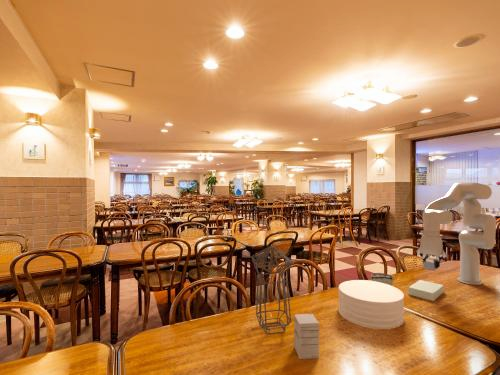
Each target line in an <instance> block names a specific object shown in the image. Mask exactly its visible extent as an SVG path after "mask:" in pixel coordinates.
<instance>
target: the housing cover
mask: <svg viewBox="0 0 500 375" xmlns="http://www.w3.org/2000/svg"><path fill="white" fill-rule="evenodd" d="M426 258H427V259H426V262H431V263H434V262H436V260H437V259H436V256H434V255H429V256H428V257H426Z"/></svg>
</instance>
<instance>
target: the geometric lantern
mask: <svg viewBox="0 0 500 375" xmlns="http://www.w3.org/2000/svg"><path fill="white" fill-rule="evenodd" d="M275 252H276V253H275ZM269 254H270V255H269ZM279 257H282V258H283V259H284V261H285V263H284V264H283V263H282V264H279V262H278V260H277V259H278V258H279ZM250 258H251V261H252V264H253V265H254V266H253V267H254V269H255V270H256V273H257V275H256V276H257V277H256V278H257V279H256V301H255V302H256V303H255V304H256V306H255V316H256V318H257V319H256V320H257V321H258V324H259V326H260V327H261V328H263V330H264V332H265V334H267V335H274V334H282V333H286V330H287V329H286V327H287V326H290V324H291V323H292V316H291V314H292V313H291V304H290V292H289V291H290V290H289V280H288V278H289V271H287V274H286V275H287V276H285V275H284V273H285V270H286V268H287V269H289V268H290V267H291V266H292V265H293V264H295V261H294V260H292V259H291V258H290V257H288V256H287V255H286V254H285V253H284V252H282V251H281V250H279V249H278V248H276V247H275V246H274V245H273V246H272V245H271V246H268V247H266V248H264V249H261V250H260V251H258V252H257V253H255V254H253V255H251V256H250ZM267 258H268V259H269V258H270V260H269V261H268V260H267ZM261 262H262V263H261ZM274 262H275V263H276V264H274ZM260 264H261V265H260ZM258 267H260V268H261V271H260V272H259V270H258V269H259V268H258ZM265 267H268V268H269V267H270V270H269V269H267V268H265ZM279 267H282V268H281V269H279ZM272 268H275V269H276V271H272ZM264 270H265V271H266V272H268V273H263V272H264ZM281 271H282V272H281ZM273 274H278V281H272V282H267V281H268V279H269V278H270V277H271V276H272V275H273ZM263 275H269V276H267V278H266V280H265V281H263V282H262V279H263V278H262V276H263ZM268 284H278V309H272V310H271V309H270V310H267V304H266V285H268ZM281 284H282V298H283V309H284V310H283V309H281ZM262 285H263V286H262ZM262 289H263V290H262ZM262 292H263V293H262ZM262 294H263V296H262ZM262 297H263V298H264V299H263V298H262ZM262 299H263V300H264V302H263V303H264V304H263V305H264V310H262ZM258 303H259V304H258ZM287 304H288V306H287ZM258 305H259V307H258ZM258 308H259V309H258ZM258 310H259V311H258ZM269 312H270V313H271V312H278V313H277V317H272V318H267V313H269ZM280 312H283V313H281V316H280ZM288 312H289V314H288ZM262 313H264V317H263V316H262ZM284 314H285V317H286V323H285V322H283V321H282V317H283V315H284ZM279 316H280V317H279ZM269 320H276V321H275V322H267V321H269ZM264 322H265V323H264ZM270 324H271V325H270ZM272 324H273V325H272ZM271 327H272V328H271ZM277 329H283V331H276V332H270V330H271V331H272V330H277Z"/></svg>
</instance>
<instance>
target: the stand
mask: <svg viewBox="0 0 500 375" xmlns="http://www.w3.org/2000/svg"><path fill="white" fill-rule="evenodd" d="M443 293H444V284H440V283H435V282H432V281H428V280H422V279H419V280H417V281H416V282H415V283H413V284H410V286H409V287H408V295H409V296H414V297H417V298H419V299H420V298H421V299H423V300H429V301H432V302H434V301H435V300H437V299H438V298H439V297H440V296H441V295H442V294H443Z"/></svg>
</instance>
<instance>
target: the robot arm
mask: <svg viewBox="0 0 500 375" xmlns="http://www.w3.org/2000/svg"><path fill="white" fill-rule="evenodd" d="M492 194H493V192H492V188H491V187H490V186H489V185H488V184H483V183H481V182H480V183H479V182H470V181H469V182H464V181H463V182H454V184H453V185H452V186H451V187H450V188H449V190H447V192H446V193H445V195H444V196H443V197H441V198H438V199H436V200H434V201H432V202H430V203H429V204H428V205H427V206H426V208H424V210H423V212H422V219H423V230H420V234H422V235H421V239H420V245H419V248H418V249H416V251H415V252H416V254H418V255H419V256H420V257H421V258H422V262H423V261H425V260H426V259H427V258H428V257H427V255H428V256H433V257H436V259H437V260H436V268H437V269H439V268H440V267H441V260H443V259H445V258H447V257H448V254H447V253H446V252H445V251H444V248H443V240H442V236H441V225H448V224H450V223H452V221H453V214H452V213H451V212H450V211H447V210H450V209H455V208H457V207H459V206H460V204H461V203H462V204H463V214H462V216H463V217H462V224H463V226H464V227H465V228H467V229H468V230H467V229H466V230H462V231H460V232H459V234H458V241H459V246H460V253H459V254H460V255H459V257H460V259H459V261H460V262H459V265H460V267H459V269H460V270H459V276H457V277H456V280H457V281H458V282H460V283H463V284H467V285H474V286H480V285H481V286H482V285H483V283H484V282H483V281H482V280H481V279H480V266H481V265H480V262H481V261H480V257H481V255H480V253H479V250H478V249H477V248H479V249H484V250H492V249H493V248H494V247H495V243H496V231H497V221H496V218H495V217H494V216H493V215H492V214H487V213H486V214H483V213H482V205H481V202H480V201H479V200H488V199H490V198H491V196H492ZM469 229H472V230H469ZM475 230H480V231H475ZM481 230H482V231H483V232H482V231H481Z"/></svg>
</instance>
